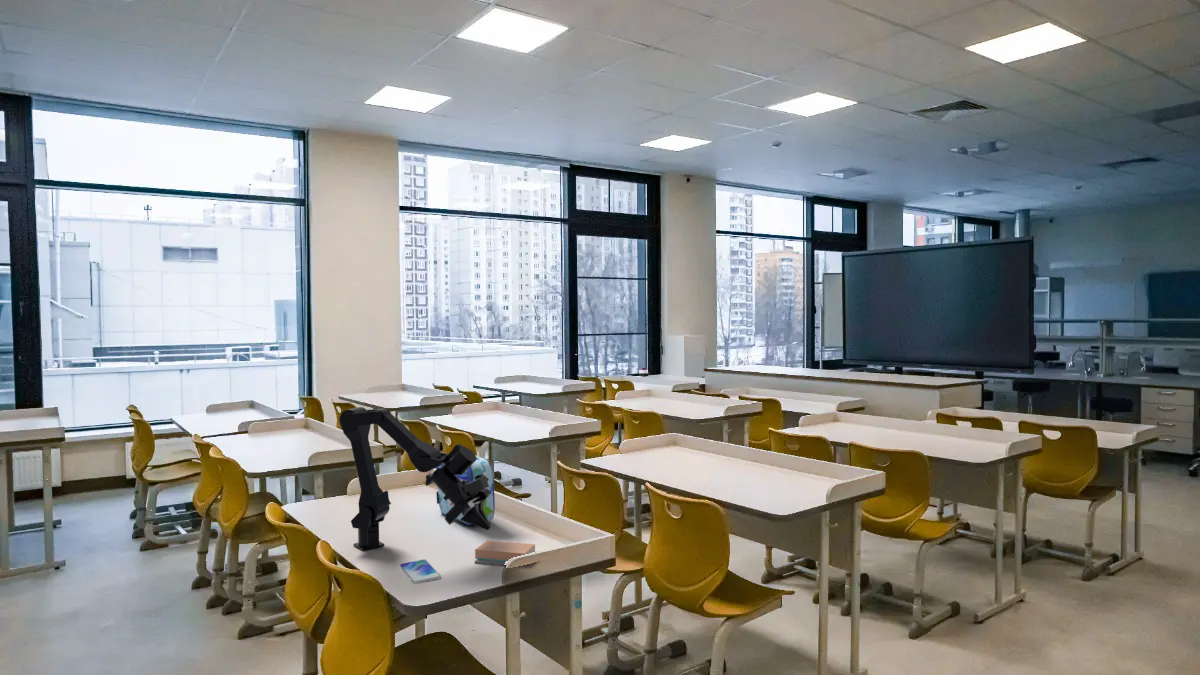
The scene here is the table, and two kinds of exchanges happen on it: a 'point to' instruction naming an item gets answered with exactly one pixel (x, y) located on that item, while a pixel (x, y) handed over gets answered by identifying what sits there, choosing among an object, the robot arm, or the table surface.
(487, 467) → the lunch box
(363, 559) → the table surface
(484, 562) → the rubber mat
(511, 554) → the glazed tile
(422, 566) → the smartphone
